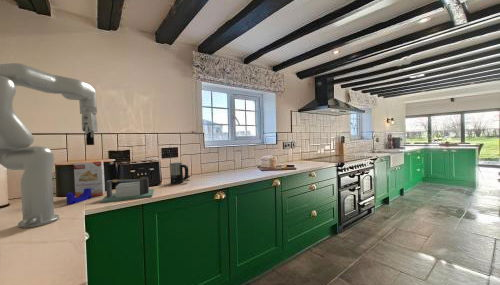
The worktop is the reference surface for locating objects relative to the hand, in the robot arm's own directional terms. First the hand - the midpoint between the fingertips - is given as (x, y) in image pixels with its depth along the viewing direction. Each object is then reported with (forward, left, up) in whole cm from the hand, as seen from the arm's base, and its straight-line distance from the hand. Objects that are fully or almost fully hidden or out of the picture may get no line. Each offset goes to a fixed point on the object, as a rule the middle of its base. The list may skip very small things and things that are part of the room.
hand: (90, 144), depth 123 cm
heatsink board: (+4, -17, -31) cm, 36 cm away
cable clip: (+6, +9, -32) cm, 33 cm away
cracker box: (+17, +6, -31) cm, 36 cm away
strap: (+4, -17, -22) cm, 28 cm away
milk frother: (+36, -47, -31) cm, 67 cm away
